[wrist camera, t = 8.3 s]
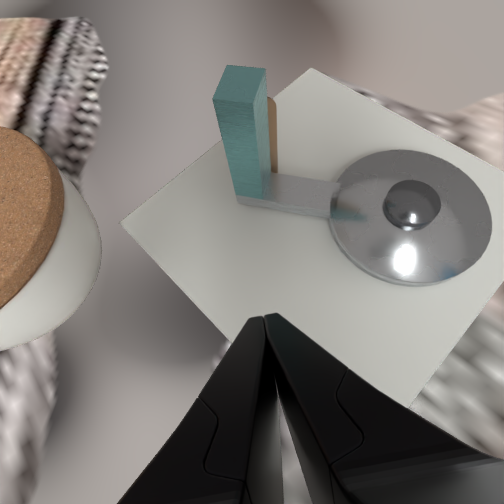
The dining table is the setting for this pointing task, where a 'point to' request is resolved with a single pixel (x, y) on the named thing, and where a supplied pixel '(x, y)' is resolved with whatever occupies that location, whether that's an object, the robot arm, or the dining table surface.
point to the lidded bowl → (41, 243)
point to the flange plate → (360, 195)
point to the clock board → (318, 242)
